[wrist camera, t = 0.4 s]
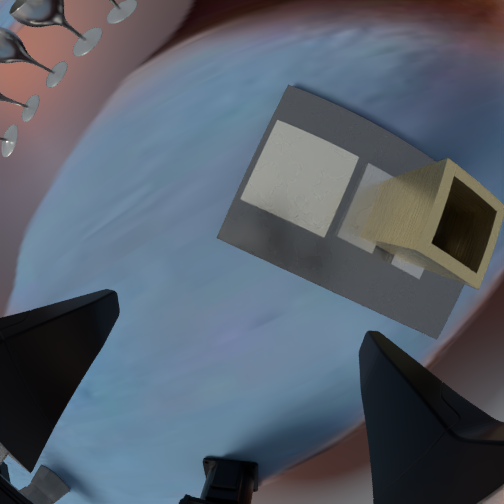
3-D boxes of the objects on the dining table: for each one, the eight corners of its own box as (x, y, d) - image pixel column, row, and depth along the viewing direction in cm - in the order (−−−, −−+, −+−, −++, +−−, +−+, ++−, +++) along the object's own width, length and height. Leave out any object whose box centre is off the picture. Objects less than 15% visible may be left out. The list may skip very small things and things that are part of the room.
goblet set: (127, -6, 21) (81, -61, 8) (146, 6, 21) (96, -59, 8) (-3, 144, 25) (-68, 134, 12) (4, 169, 25) (-68, 162, 12)
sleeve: (408, 262, 19) (478, 289, 10) (360, 236, 19) (416, 249, 10) (430, 209, 18) (505, 206, 9) (383, 181, 19) (447, 157, 10)
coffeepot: (29, 457, 34) (-9, 494, 16) (42, 459, 32) (1, 501, 14) (71, 500, 34) (41, 539, 17) (89, 504, 33) (58, 549, 15)
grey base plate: (436, 337, 22) (473, 369, 15) (219, 237, 23) (193, 244, 16) (489, 208, 20) (535, 208, 13) (288, 89, 21) (289, 45, 14)
